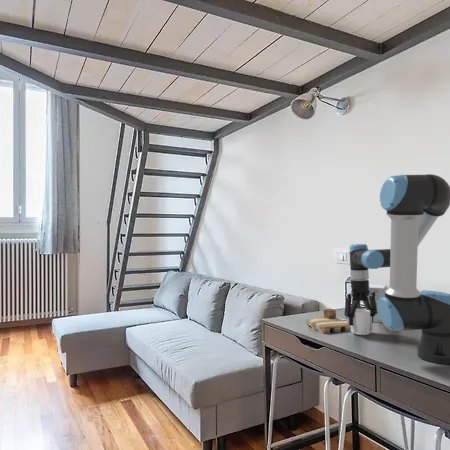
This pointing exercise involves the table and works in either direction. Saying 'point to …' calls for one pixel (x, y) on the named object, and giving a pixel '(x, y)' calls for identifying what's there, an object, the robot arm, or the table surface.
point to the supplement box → (377, 298)
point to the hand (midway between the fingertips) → (361, 331)
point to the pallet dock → (328, 325)
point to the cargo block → (329, 313)
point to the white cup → (362, 321)
